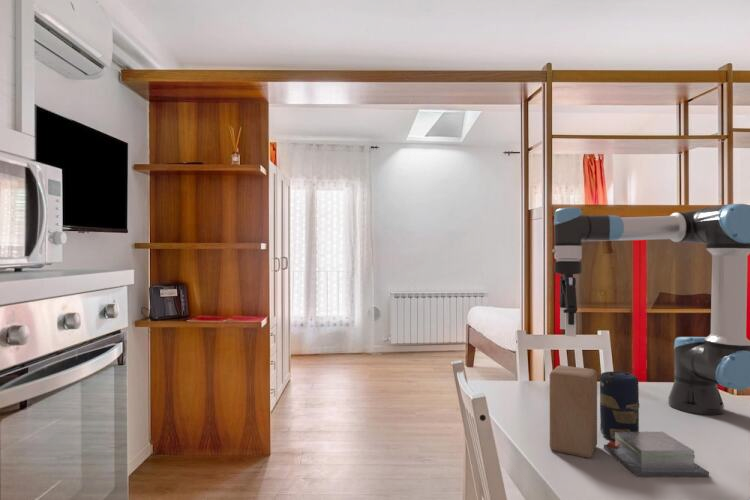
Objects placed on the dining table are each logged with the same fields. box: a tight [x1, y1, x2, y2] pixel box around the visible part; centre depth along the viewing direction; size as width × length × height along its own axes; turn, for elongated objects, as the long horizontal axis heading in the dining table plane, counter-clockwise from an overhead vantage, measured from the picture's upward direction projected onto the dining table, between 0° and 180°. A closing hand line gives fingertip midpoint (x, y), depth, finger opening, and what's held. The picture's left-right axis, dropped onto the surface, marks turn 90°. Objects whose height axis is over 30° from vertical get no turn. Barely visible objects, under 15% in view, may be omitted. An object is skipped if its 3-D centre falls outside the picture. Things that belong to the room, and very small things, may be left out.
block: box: [549, 364, 598, 459], centre depth 125 cm, size 10×10×20 cm
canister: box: [599, 370, 640, 440], centre depth 134 cm, size 10×10×18 cm
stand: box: [603, 431, 710, 478], centre depth 118 cm, size 16×17×5 cm
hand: (567, 332), depth 145 cm, fingers open, 13 cm apart
